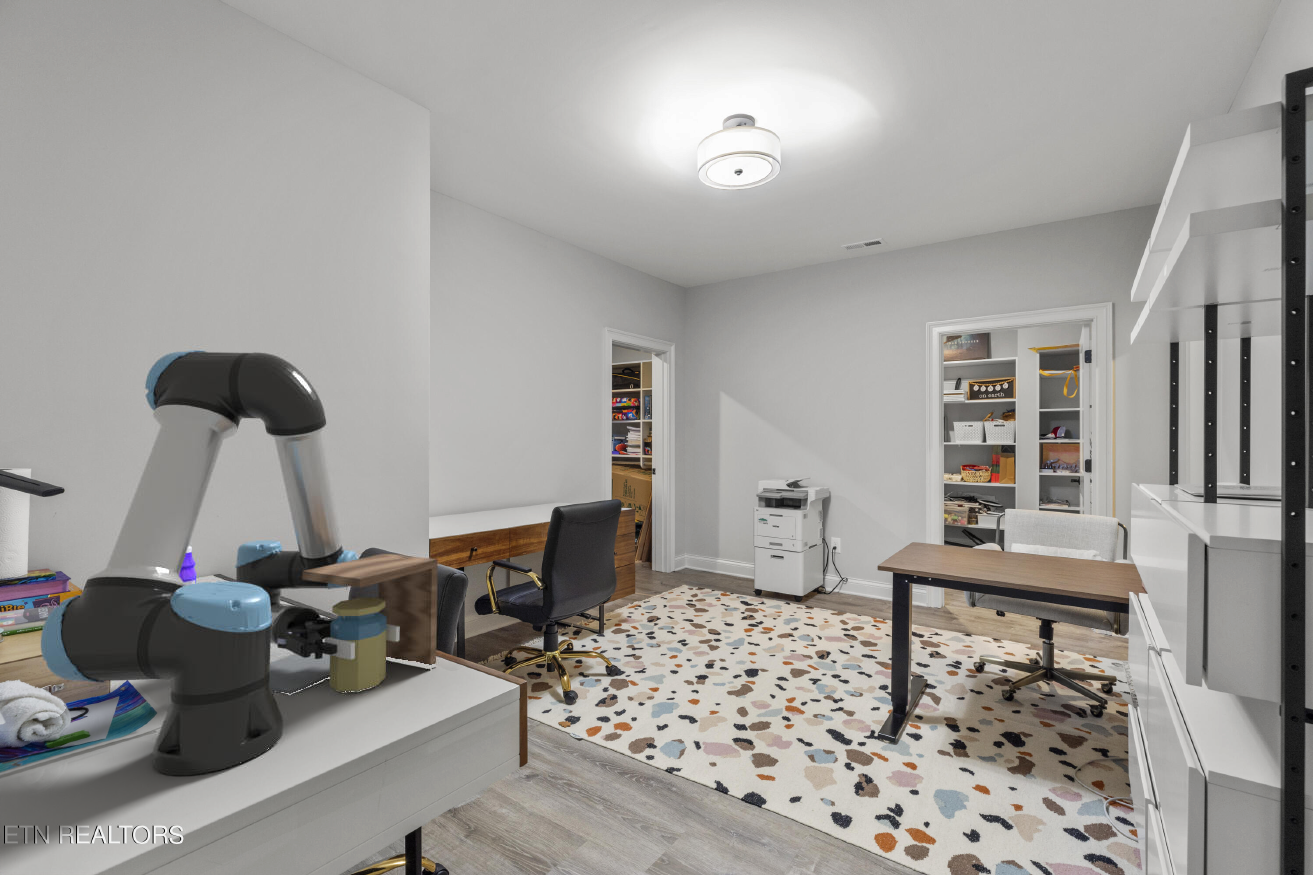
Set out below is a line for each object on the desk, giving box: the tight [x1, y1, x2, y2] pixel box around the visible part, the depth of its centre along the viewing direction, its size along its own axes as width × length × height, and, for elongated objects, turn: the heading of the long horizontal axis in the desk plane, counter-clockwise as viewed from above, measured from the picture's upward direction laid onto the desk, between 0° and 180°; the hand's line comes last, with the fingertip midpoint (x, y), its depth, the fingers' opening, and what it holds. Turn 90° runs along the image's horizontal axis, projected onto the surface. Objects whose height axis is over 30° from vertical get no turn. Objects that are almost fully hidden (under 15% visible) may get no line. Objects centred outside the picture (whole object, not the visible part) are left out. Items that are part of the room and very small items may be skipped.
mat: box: [270, 653, 330, 694], centre depth 113 cm, size 16×16×1 cm
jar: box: [328, 597, 387, 693], centre depth 107 cm, size 9×9×15 cm
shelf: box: [302, 553, 439, 665], centre depth 110 cm, size 14×18×22 cm
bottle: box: [179, 545, 198, 586], centre depth 147 cm, size 7×6×17 cm
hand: (376, 642), depth 106 cm, fingers closed on jar, 9 cm apart
